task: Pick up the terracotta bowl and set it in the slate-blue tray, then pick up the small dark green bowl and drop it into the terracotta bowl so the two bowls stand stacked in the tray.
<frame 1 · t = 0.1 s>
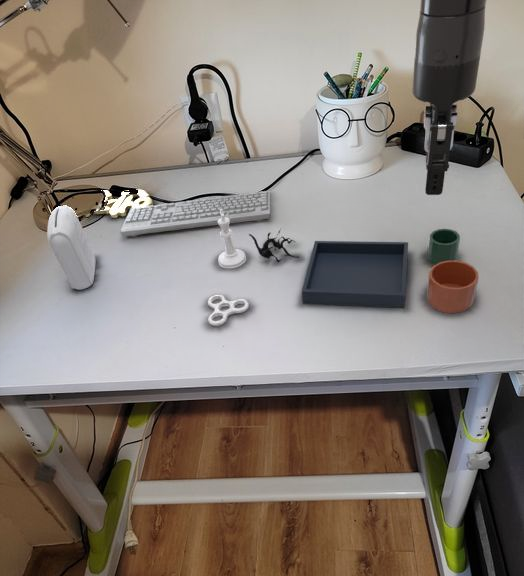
hand: (433, 178, 72), 14 cm above the table, tool pointing down, fingers open, 8 cm apart
fidget spinner: (229, 310, 80), on the table
tray: (356, 278, 81), on the table
lettering: (100, 206, 110), on the table, touching keyboard
creature: (279, 255, 89), on the table
big bowl: (449, 298, 75), on the table
small bowl: (441, 257, 82), on the table
chess piece: (232, 261, 89), on the table
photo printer: (85, 274, 93), on the table
keyboard: (198, 216, 101), on the table, touching lettering
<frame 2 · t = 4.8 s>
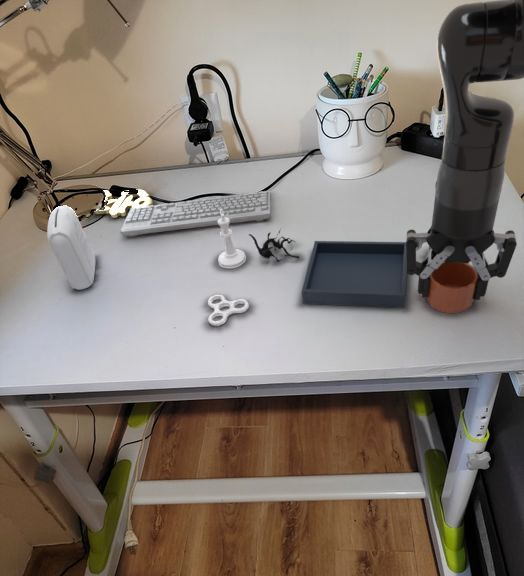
hand: (450, 294, 74), 1 cm above the table, tool pointing down, fingers closed on big bowl, 6 cm apart
big bowl: (449, 298, 75), on the table, touching gripper
everything else where it was.
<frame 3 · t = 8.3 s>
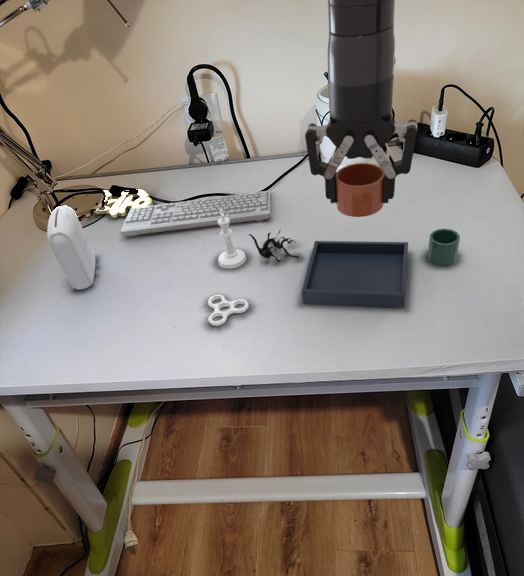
hand: (359, 200, 71), 14 cm above the table, tool pointing down, fingers closed on big bowl, 6 cm apart
big bowl: (359, 204, 71), point 13 cm above the table, touching gripper
everything else where it was.
when the fingers open (1 cm above the table, at t = 11.8 s): big bowl stays where it is, resting on tray.
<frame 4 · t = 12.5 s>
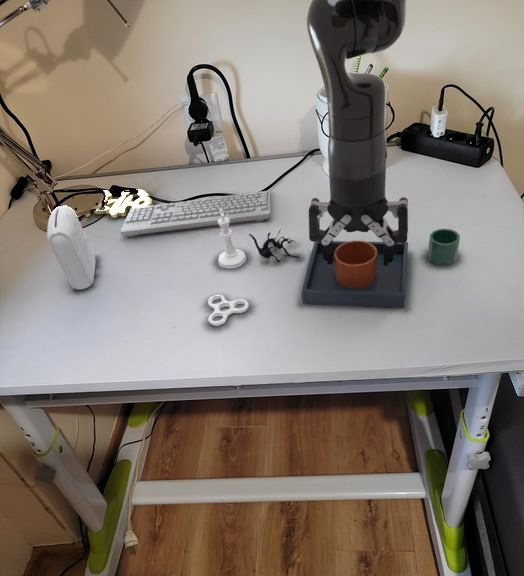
hand: (358, 261, 79), 3 cm above the table, tool pointing down, fingers open, 8 cm apart
big bowl: (355, 276, 81), resting on tray
everything else where it was.
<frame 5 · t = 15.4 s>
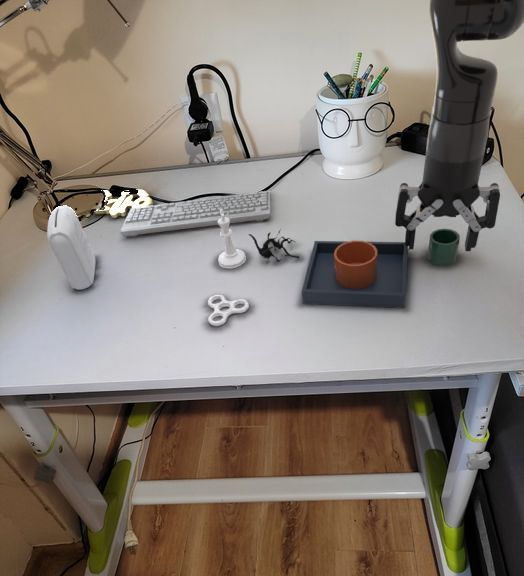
hand: (439, 247, 80), 2 cm above the table, tool pointing down, fingers open, 8 cm apart
nothing on the table moved.
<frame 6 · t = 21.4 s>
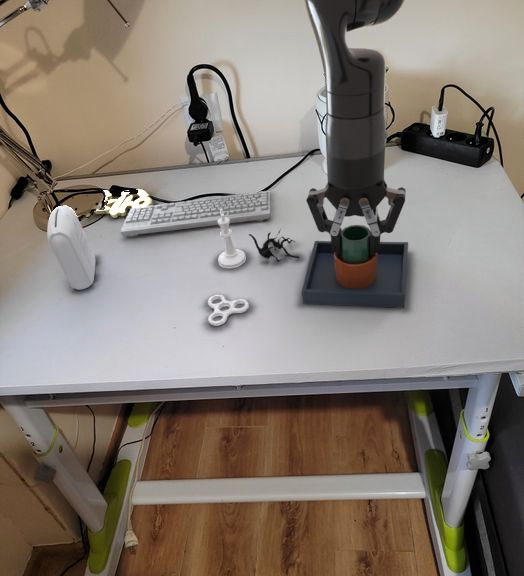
hand: (355, 252, 77), 5 cm above the table, tool pointing down, fingers closed on small bowl, 4 cm apart
big bowl: (355, 276, 81), point 1 cm above the table, touching gripper, tray
small bowl: (355, 255, 78), point 5 cm above the table, touching gripper
everything else where it was.
when the fingers open (7 cm above the table, at t = 30.3 s): small bowl drops 5 cm, resting on big bowl.
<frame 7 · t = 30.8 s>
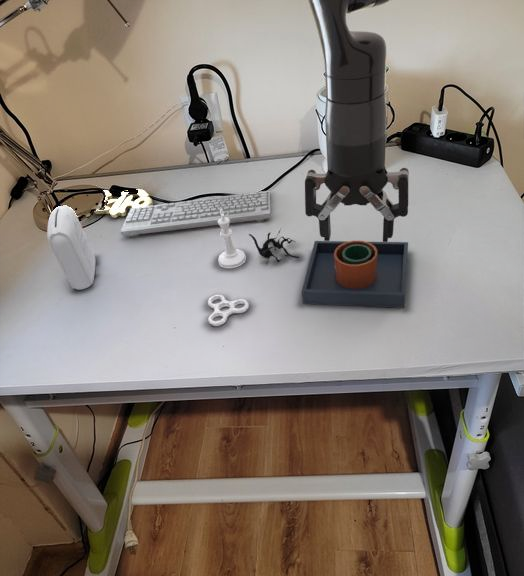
hand: (356, 238, 76), 8 cm above the table, tool pointing down, fingers open, 8 cm apart
big bowl: (355, 276, 81), resting on tray, touching small bowl
small bowl: (356, 273, 80), point 1 cm above the table, touching big bowl
everything else where it was.
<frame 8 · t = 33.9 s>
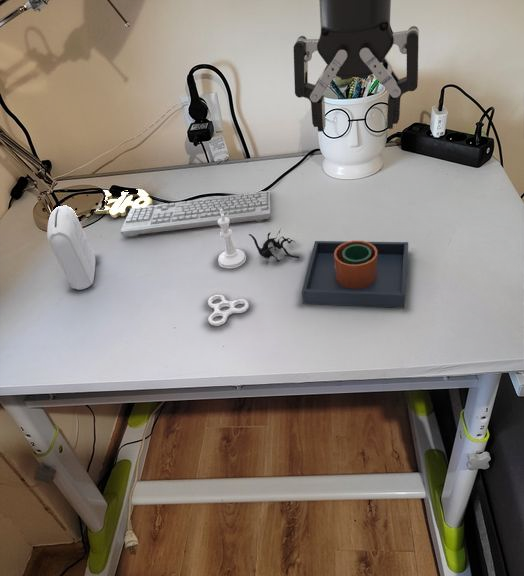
hand: (355, 127, 64), 24 cm above the table, tool pointing down, fingers open, 8 cm apart
nothing on the table moved.
at the end: big bowl inside the target area in the tray (0.1 cm from its centre), point 0.5 cm above the tray's base; small bowl 0.2 cm from the big bowl (horizontally); small bowl point 1.0 cm above the table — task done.
